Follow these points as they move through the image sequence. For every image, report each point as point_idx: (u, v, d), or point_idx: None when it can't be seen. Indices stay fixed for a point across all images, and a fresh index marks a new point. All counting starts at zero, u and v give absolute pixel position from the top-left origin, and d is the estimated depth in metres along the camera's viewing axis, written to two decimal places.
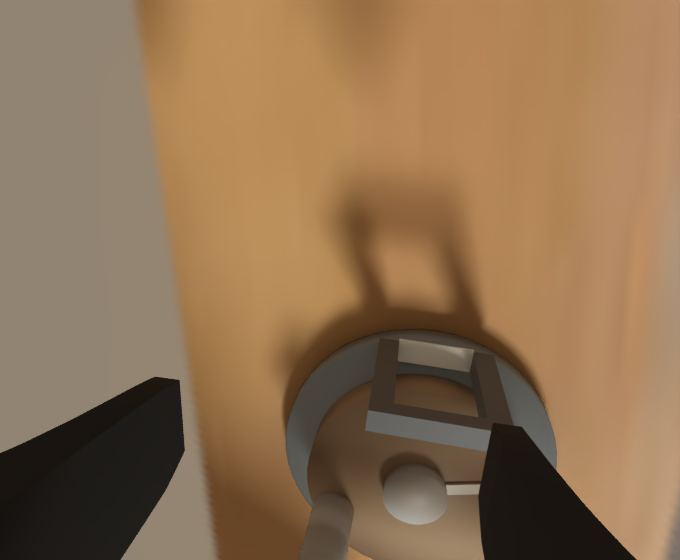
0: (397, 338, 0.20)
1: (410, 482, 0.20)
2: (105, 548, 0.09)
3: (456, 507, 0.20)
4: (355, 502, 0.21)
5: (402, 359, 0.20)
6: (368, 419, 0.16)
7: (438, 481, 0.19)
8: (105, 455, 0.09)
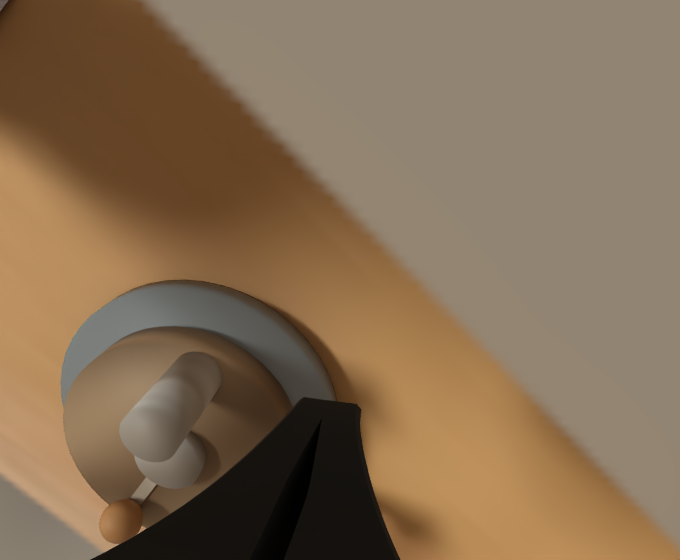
0: None
1: (187, 473, 0.18)
2: None
3: (135, 460, 0.19)
4: None
5: None
6: None
7: (174, 487, 0.19)
8: (295, 485, 0.08)
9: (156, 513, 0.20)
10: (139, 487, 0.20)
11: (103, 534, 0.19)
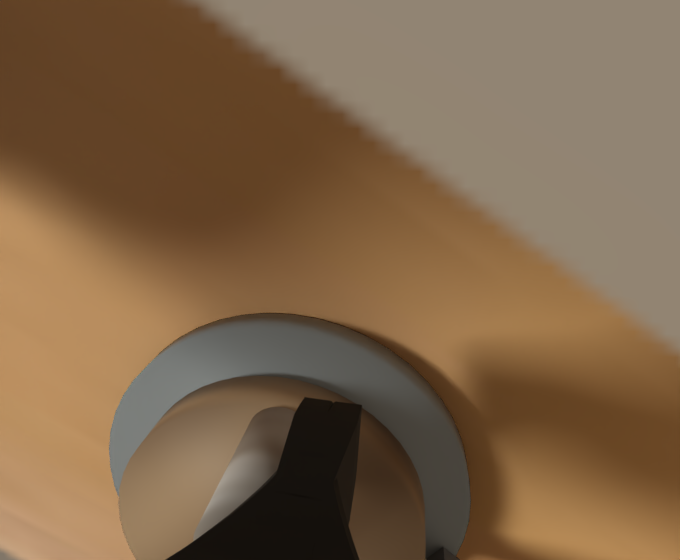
0: None
1: None
2: None
3: None
4: None
5: None
6: None
7: None
8: None
9: None
10: None
11: None
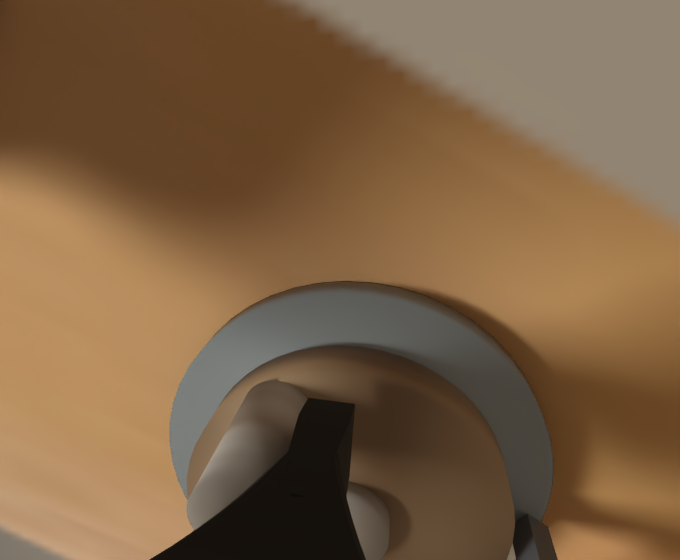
0: None
1: (372, 531, 0.13)
2: None
3: None
4: None
5: None
6: None
7: (377, 559, 0.13)
8: None
9: None
10: None
11: None
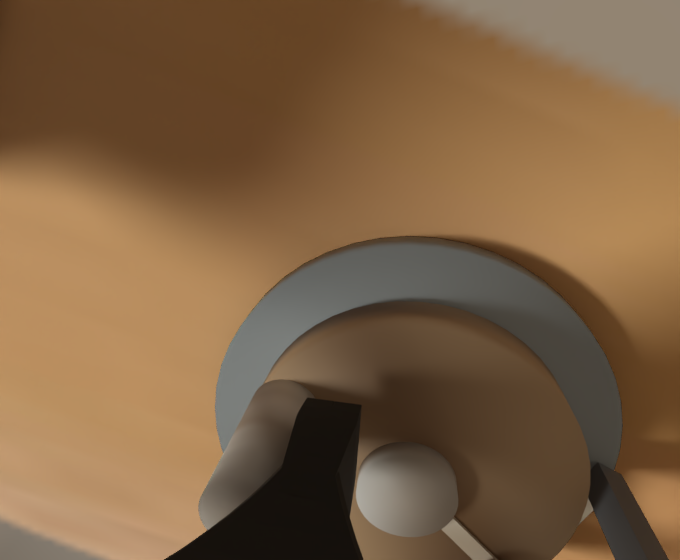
0: None
1: (431, 480, 0.12)
2: None
3: None
4: None
5: None
6: None
7: (457, 506, 0.13)
8: None
9: (516, 544, 0.13)
10: (463, 547, 0.14)
11: None
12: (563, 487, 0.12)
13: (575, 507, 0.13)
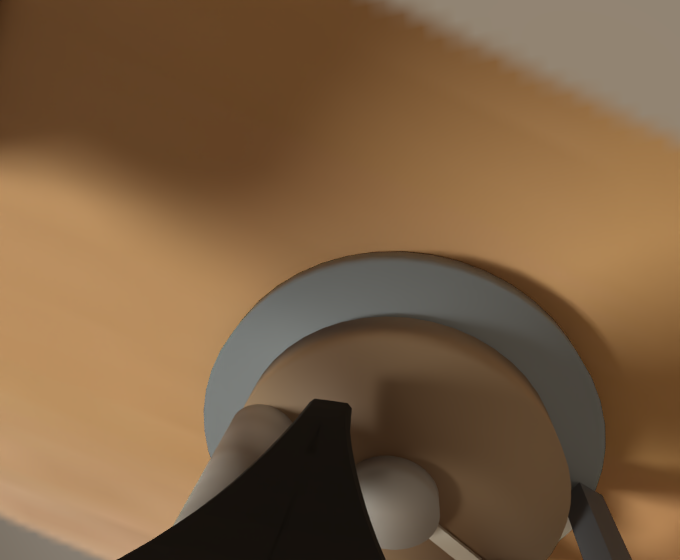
0: None
1: (410, 492, 0.12)
2: None
3: None
4: None
5: None
6: None
7: (439, 516, 0.13)
8: None
9: (506, 549, 0.13)
10: (455, 555, 0.14)
11: None
12: (544, 490, 0.12)
13: (559, 509, 0.13)
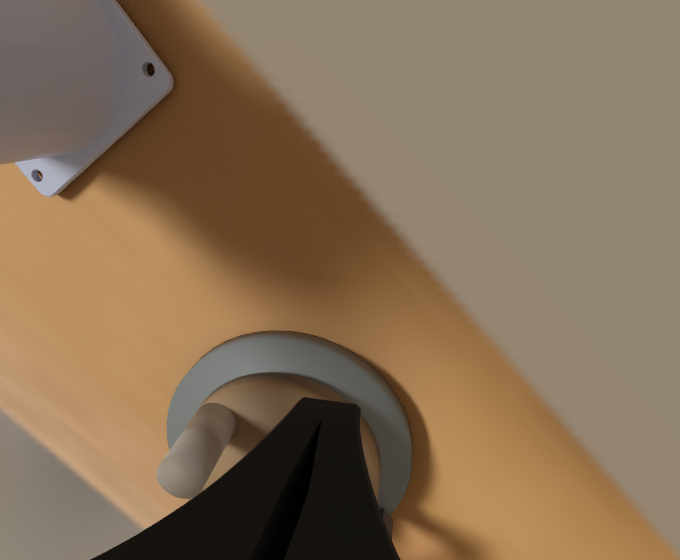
0: None
1: None
2: None
3: None
4: (234, 437, 0.21)
5: None
6: None
7: None
8: (295, 485, 0.08)
9: None
10: None
11: None
12: None
13: None
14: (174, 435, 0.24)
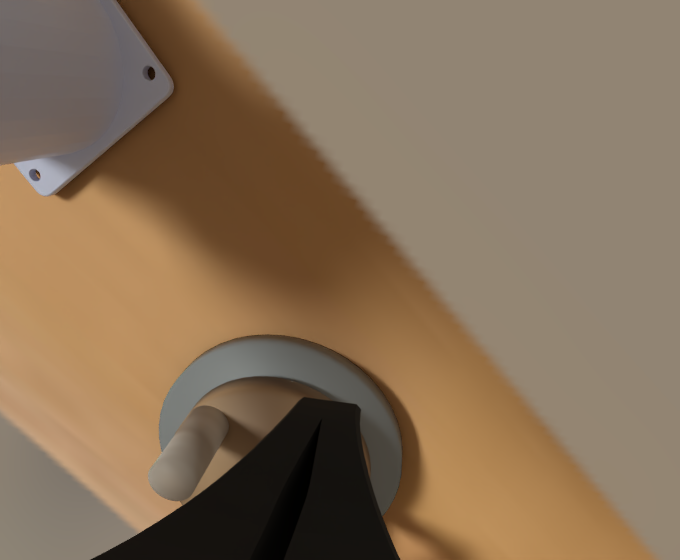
0: None
1: None
2: None
3: None
4: (225, 440, 0.21)
5: None
6: None
7: None
8: (295, 485, 0.08)
9: None
10: None
11: None
12: None
13: None
14: (166, 436, 0.24)
